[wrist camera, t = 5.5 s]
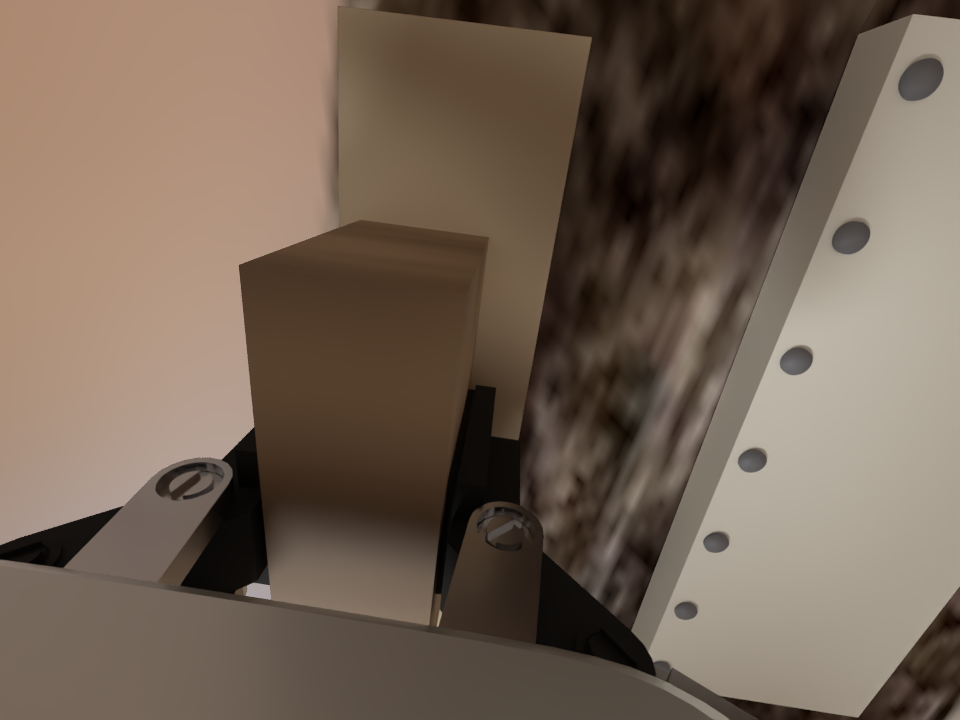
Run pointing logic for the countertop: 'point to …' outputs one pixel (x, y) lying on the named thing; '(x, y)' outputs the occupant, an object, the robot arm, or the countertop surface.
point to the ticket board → (836, 412)
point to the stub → (406, 300)
